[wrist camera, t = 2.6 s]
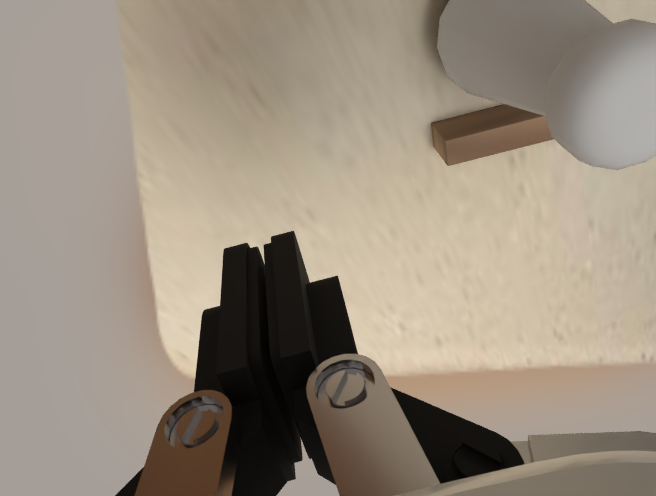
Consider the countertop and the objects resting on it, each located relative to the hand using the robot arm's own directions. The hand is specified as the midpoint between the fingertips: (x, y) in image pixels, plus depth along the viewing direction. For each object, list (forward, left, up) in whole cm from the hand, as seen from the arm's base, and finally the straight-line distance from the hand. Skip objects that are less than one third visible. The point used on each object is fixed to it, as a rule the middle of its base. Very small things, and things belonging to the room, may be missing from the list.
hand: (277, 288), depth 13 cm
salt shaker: (0, +11, -17) cm, 20 cm away
